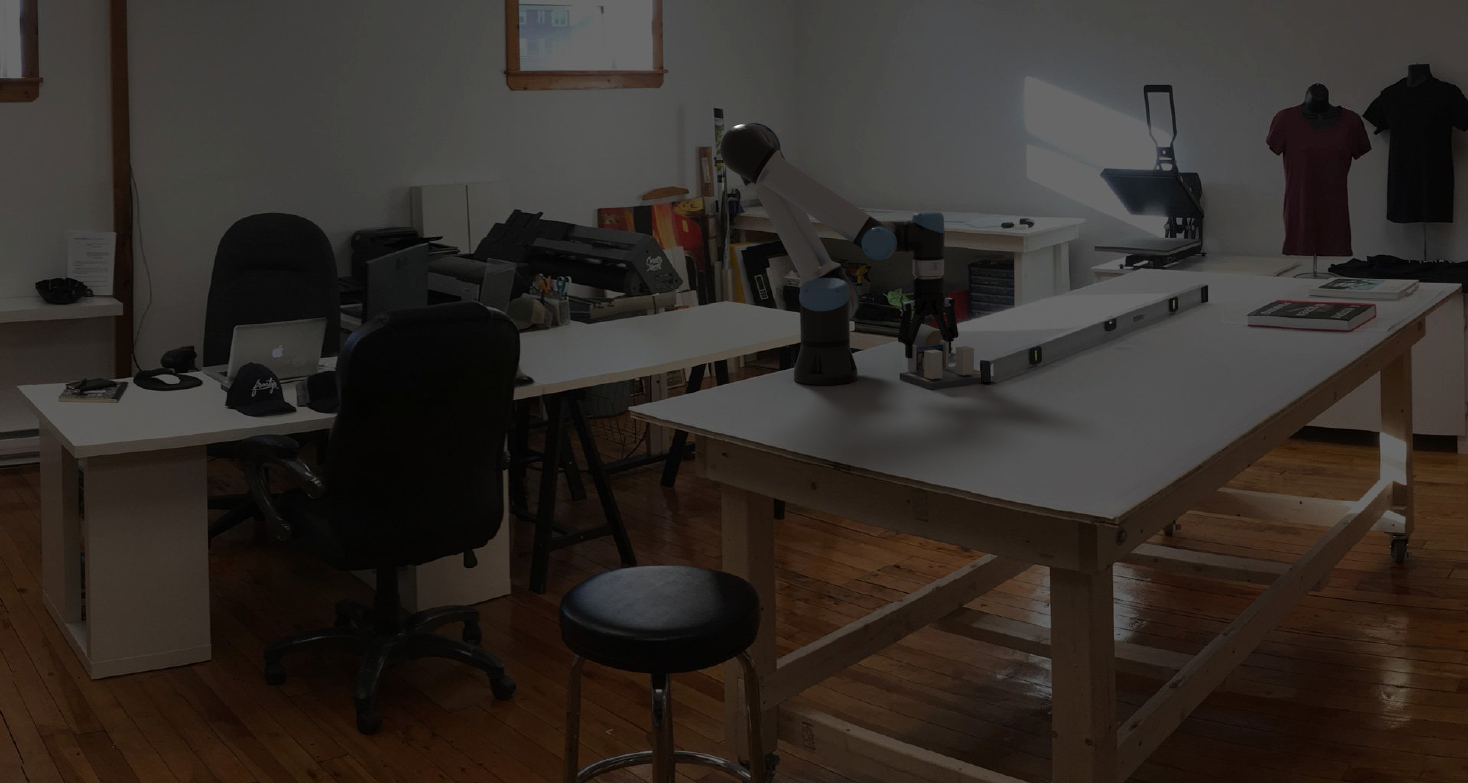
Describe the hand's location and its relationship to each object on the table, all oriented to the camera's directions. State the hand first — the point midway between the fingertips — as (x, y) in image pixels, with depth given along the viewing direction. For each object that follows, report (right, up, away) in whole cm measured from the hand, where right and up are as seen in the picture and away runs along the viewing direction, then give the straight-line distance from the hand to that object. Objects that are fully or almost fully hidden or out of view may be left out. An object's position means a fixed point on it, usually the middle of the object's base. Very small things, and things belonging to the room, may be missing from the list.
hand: (928, 369), depth 314 cm
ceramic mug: (+4, +4, +20) cm, 21 cm away
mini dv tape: (0, -1, 0) cm, 1 cm away
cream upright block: (-2, -2, -18) cm, 18 cm away
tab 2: (+6, -1, -15) cm, 16 cm away
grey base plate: (+2, -3, -13) cm, 13 cm away
